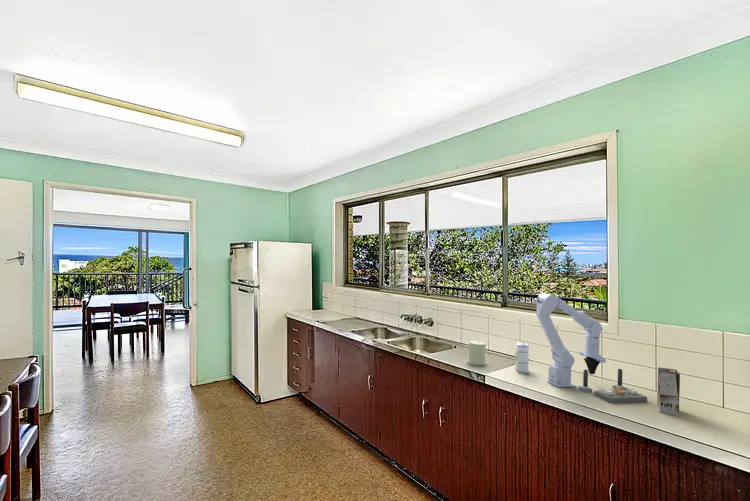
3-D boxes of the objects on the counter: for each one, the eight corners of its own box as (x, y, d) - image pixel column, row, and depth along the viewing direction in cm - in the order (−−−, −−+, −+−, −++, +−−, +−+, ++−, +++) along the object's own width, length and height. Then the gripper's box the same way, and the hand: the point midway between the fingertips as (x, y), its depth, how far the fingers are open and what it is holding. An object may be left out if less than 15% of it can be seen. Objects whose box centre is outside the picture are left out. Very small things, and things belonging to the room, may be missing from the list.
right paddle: (632, 394, 164) (633, 390, 164) (626, 391, 167) (626, 387, 167) (637, 393, 164) (637, 390, 164) (631, 391, 167) (631, 387, 167)
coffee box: (679, 416, 146) (680, 374, 147) (659, 412, 150) (659, 371, 150) (676, 408, 154) (677, 369, 154) (656, 405, 158) (657, 366, 158)
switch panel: (610, 403, 158) (610, 398, 158) (594, 395, 167) (594, 390, 167) (647, 401, 161) (647, 396, 161) (629, 394, 170) (629, 389, 170)
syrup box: (528, 373, 198) (529, 345, 198) (516, 371, 199) (517, 344, 199) (526, 369, 203) (527, 342, 203) (515, 368, 204) (515, 342, 205)
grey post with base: (619, 391, 173) (619, 370, 174) (612, 388, 177) (613, 367, 177) (627, 391, 174) (627, 370, 174) (620, 388, 178) (620, 367, 178)
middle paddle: (620, 394, 163) (620, 390, 163) (614, 391, 166) (615, 388, 166) (625, 394, 163) (625, 390, 163) (619, 391, 166) (619, 388, 166)
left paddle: (608, 394, 162) (608, 391, 162) (602, 392, 165) (603, 388, 165) (613, 394, 162) (613, 390, 162) (607, 392, 165) (607, 388, 165)
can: (487, 362, 215) (487, 341, 215) (482, 366, 207) (483, 344, 208) (471, 359, 220) (472, 339, 220) (466, 363, 212) (466, 341, 212)
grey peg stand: (584, 392, 170) (585, 370, 170) (578, 389, 174) (578, 368, 174) (592, 392, 171) (592, 370, 171) (586, 389, 175) (586, 368, 175)
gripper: (611, 349, 175) (611, 378, 175) (588, 341, 189) (588, 369, 189) (598, 349, 174) (597, 378, 173) (576, 342, 188) (575, 369, 188)
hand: (591, 373), depth 181 cm, fingers closed
